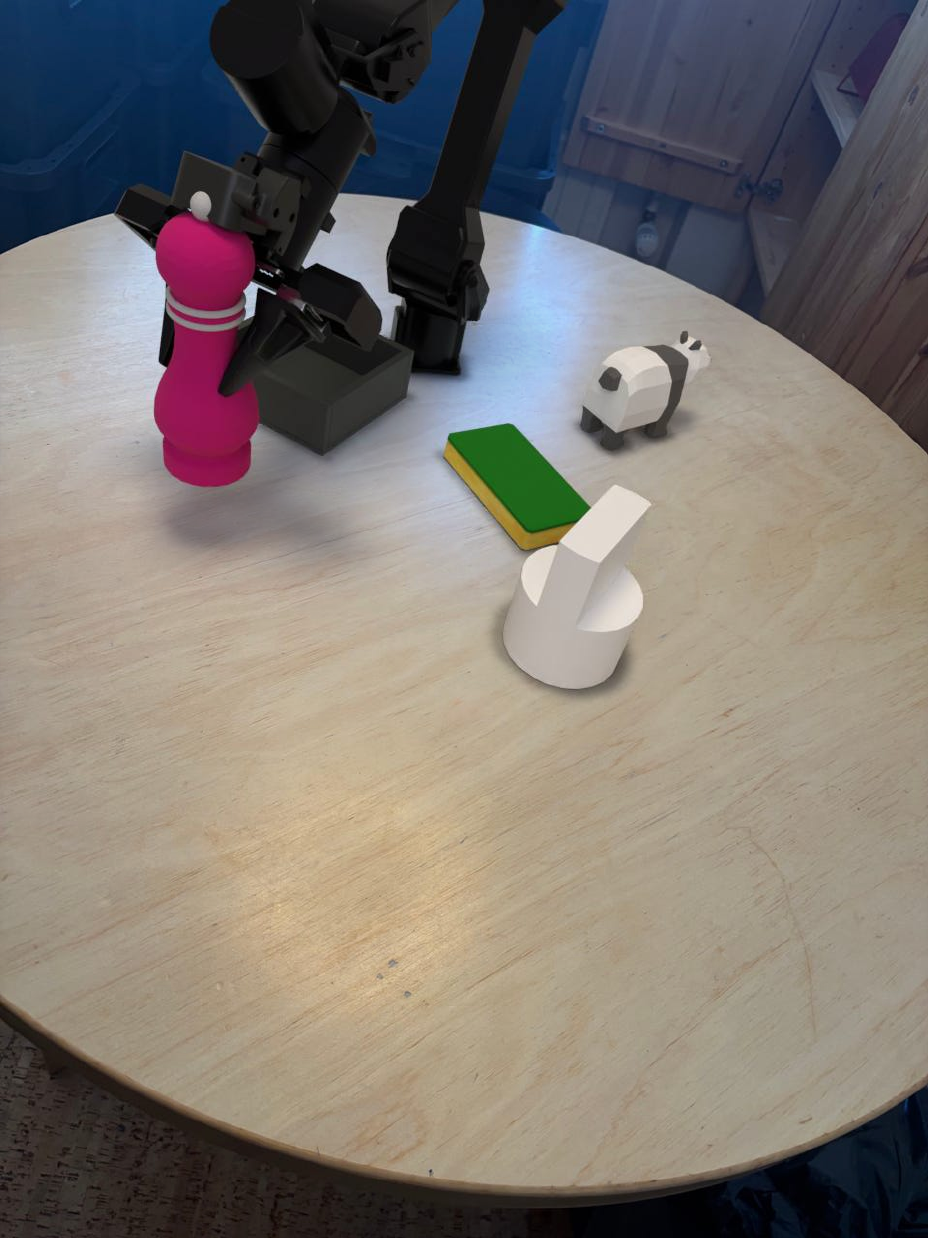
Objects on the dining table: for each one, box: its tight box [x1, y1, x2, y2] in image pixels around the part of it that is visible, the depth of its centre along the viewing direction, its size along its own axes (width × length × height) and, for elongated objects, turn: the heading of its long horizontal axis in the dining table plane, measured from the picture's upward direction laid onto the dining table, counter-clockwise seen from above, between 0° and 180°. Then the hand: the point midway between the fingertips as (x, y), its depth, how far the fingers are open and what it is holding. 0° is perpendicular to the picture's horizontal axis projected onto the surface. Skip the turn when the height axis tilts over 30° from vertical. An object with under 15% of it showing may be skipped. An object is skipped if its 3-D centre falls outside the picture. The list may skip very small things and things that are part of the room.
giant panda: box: [579, 330, 713, 451], centre depth 93 cm, size 15×6×10 cm, turn 126°
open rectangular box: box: [238, 315, 414, 457], centre depth 87 cm, size 14×14×5 cm
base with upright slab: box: [502, 484, 652, 690], centre depth 68 cm, size 9×9×12 cm
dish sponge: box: [443, 422, 592, 551], centre depth 83 cm, size 7×14×2 cm, turn 31°
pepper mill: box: [153, 192, 260, 488], centre depth 63 cm, size 7×7×20 cm
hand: (192, 380), depth 64 cm, fingers closed on pepper mill, 5 cm apart
